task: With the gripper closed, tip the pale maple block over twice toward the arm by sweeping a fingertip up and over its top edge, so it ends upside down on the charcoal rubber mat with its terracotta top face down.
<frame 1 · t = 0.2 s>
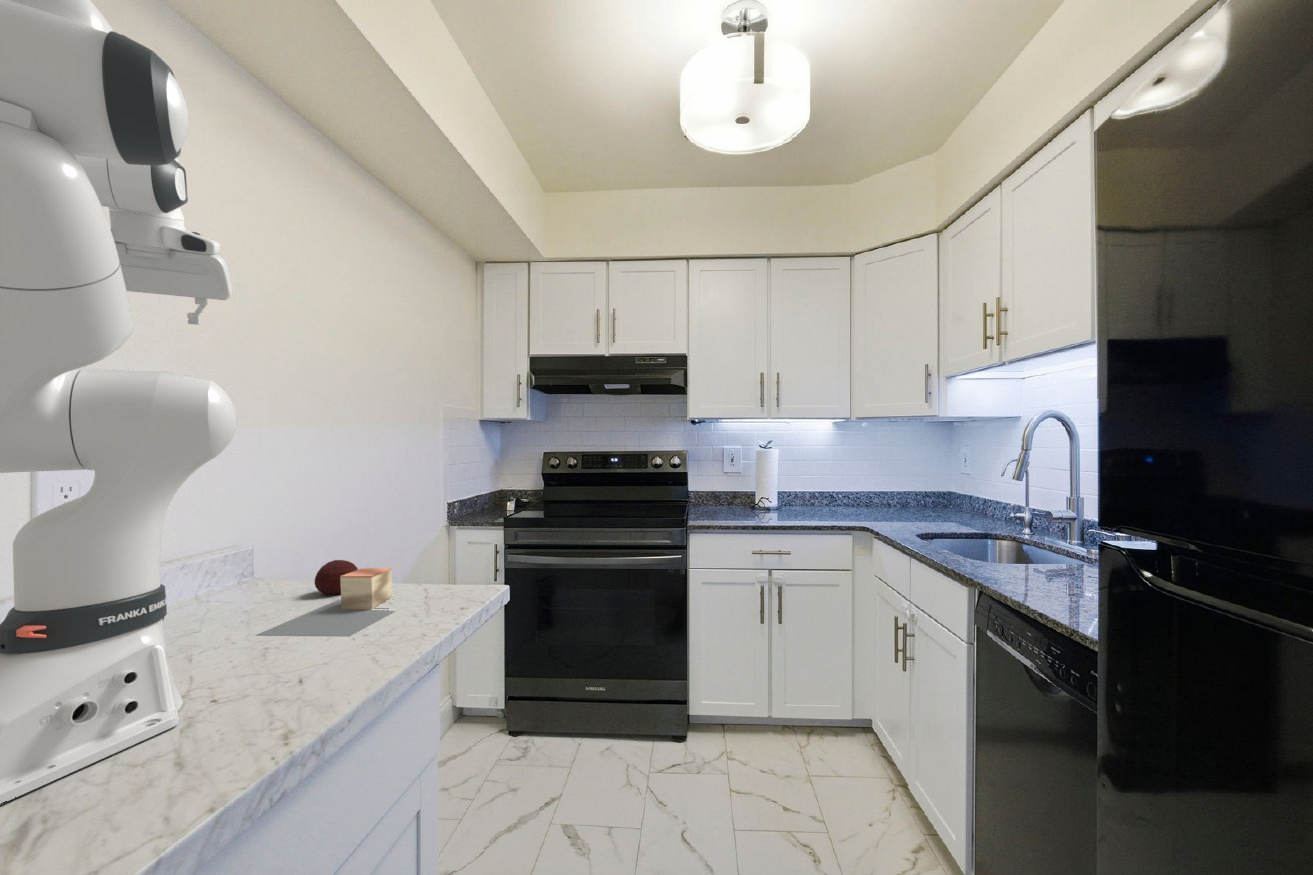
hand: (157, 321, 91), 52 cm above the worktop, tool tilted 20°, fingers open, 8 cm apart
mat: (343, 618, 94), on the worktop
block: (367, 604, 101), resting on mat
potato: (337, 595, 110), on the worktop
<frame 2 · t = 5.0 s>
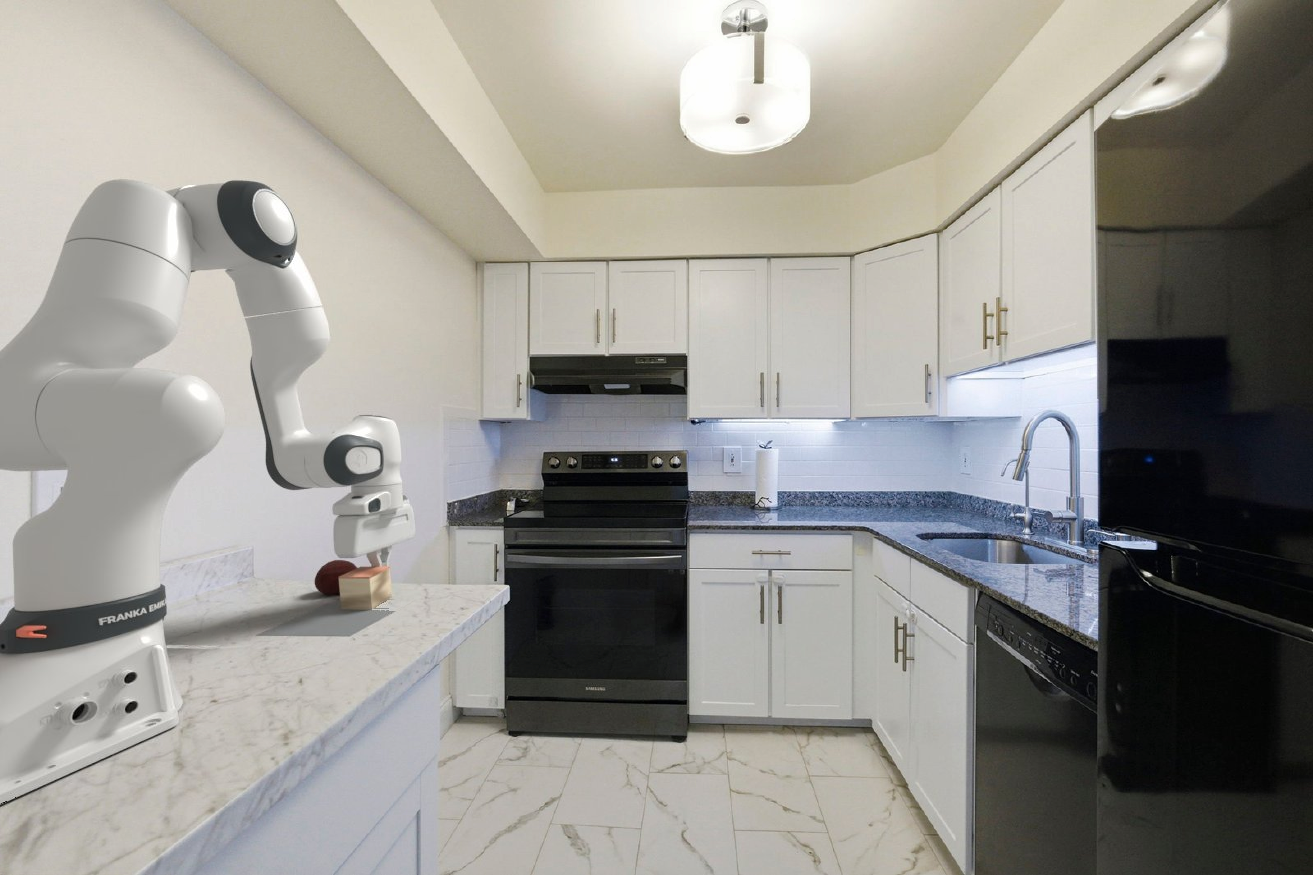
hand: (380, 571, 105), 6 cm above the worktop, tool pointing down, fingers closed
block: (367, 603, 101), point 1 cm above the worktop, touching gripper, mat
everything else where it was.
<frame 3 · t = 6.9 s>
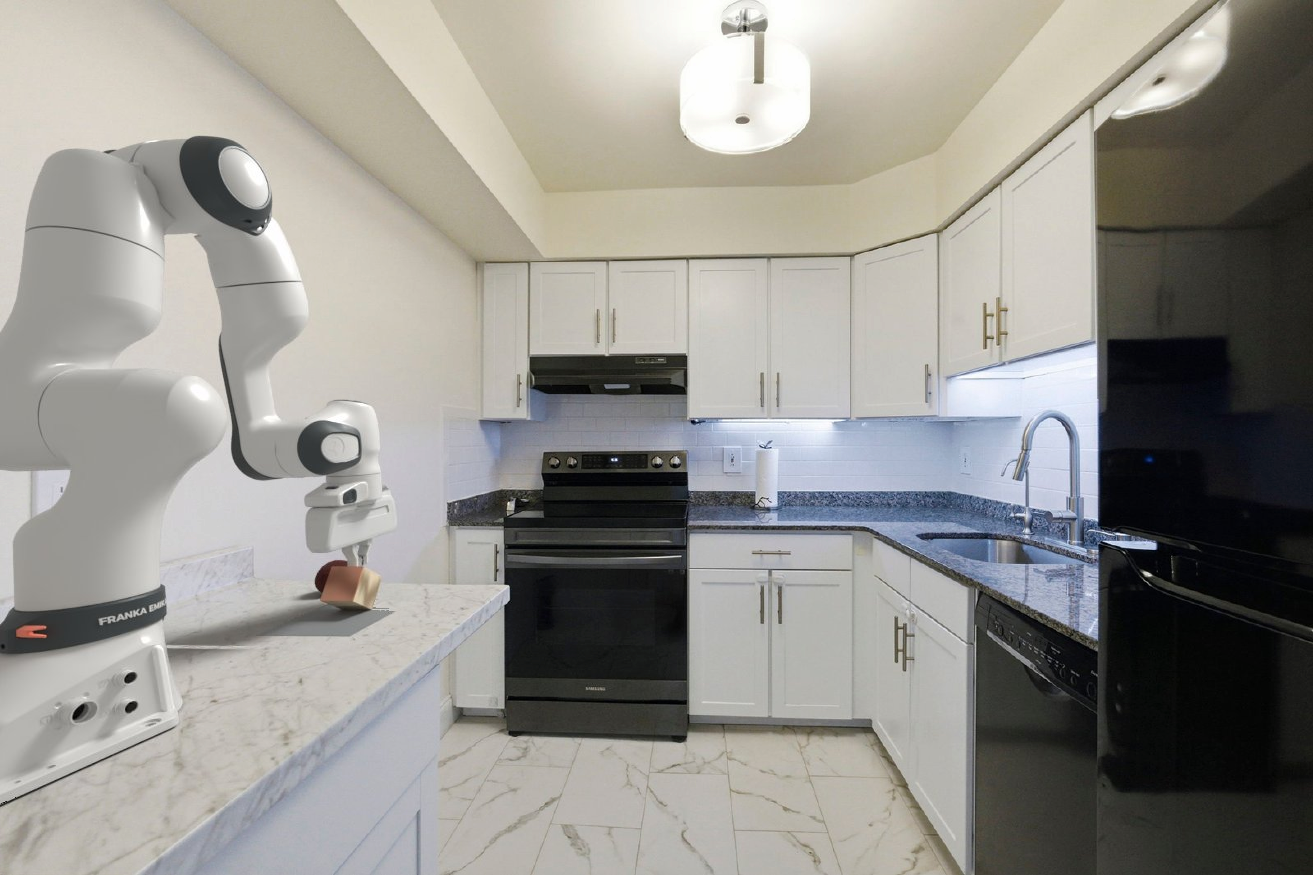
hand: (358, 566, 98), 8 cm above the worktop, tool pointing down, fingers closed
block: (361, 592, 99), point 3 cm above the worktop, tilted 59°, touching gripper, mat
everything else where it was.
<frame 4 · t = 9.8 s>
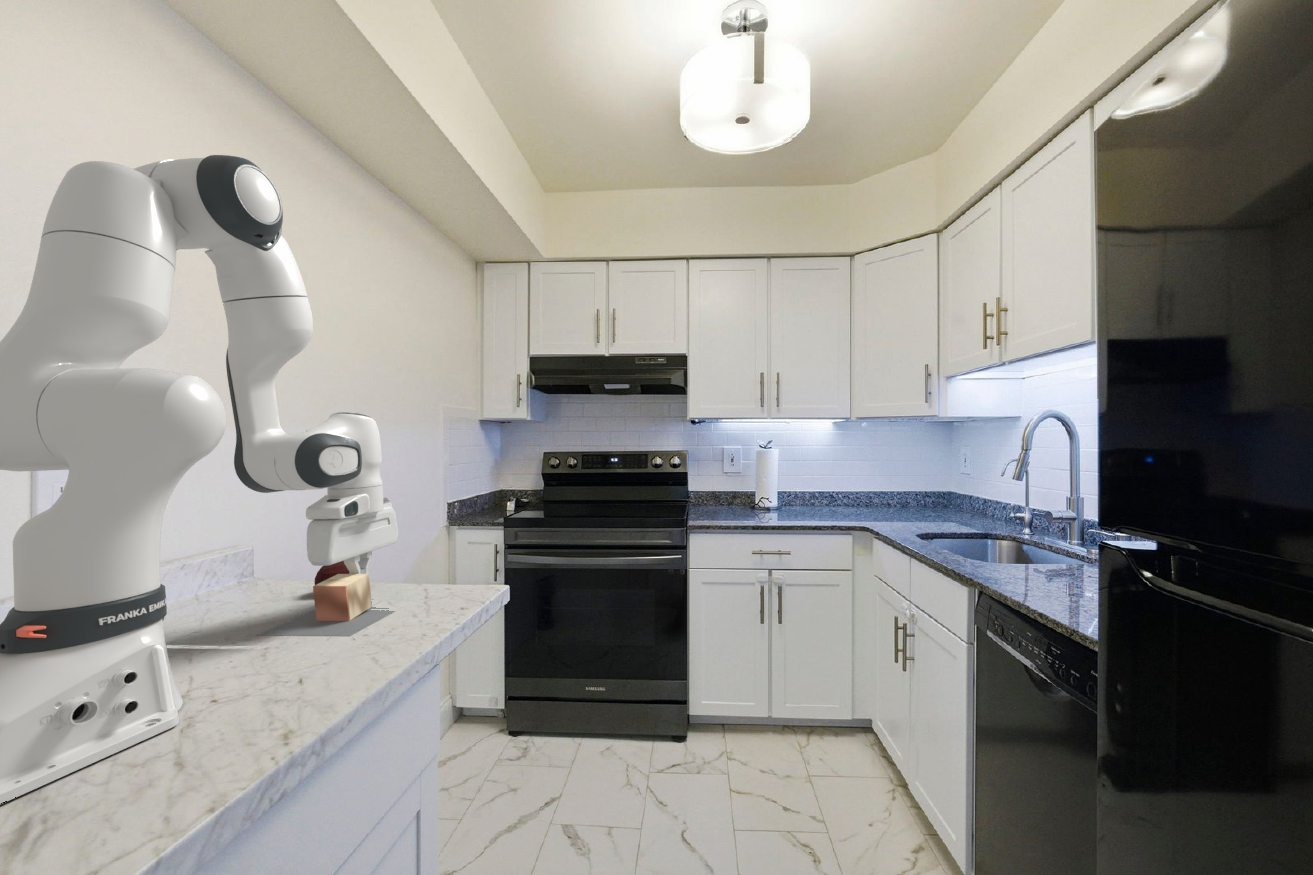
hand: (359, 579, 98), 6 cm above the worktop, tool pointing down, fingers closed
block: (354, 590, 97), point 4 cm above the worktop, tilted 96°, touching gripper, mat
everything else where it was.
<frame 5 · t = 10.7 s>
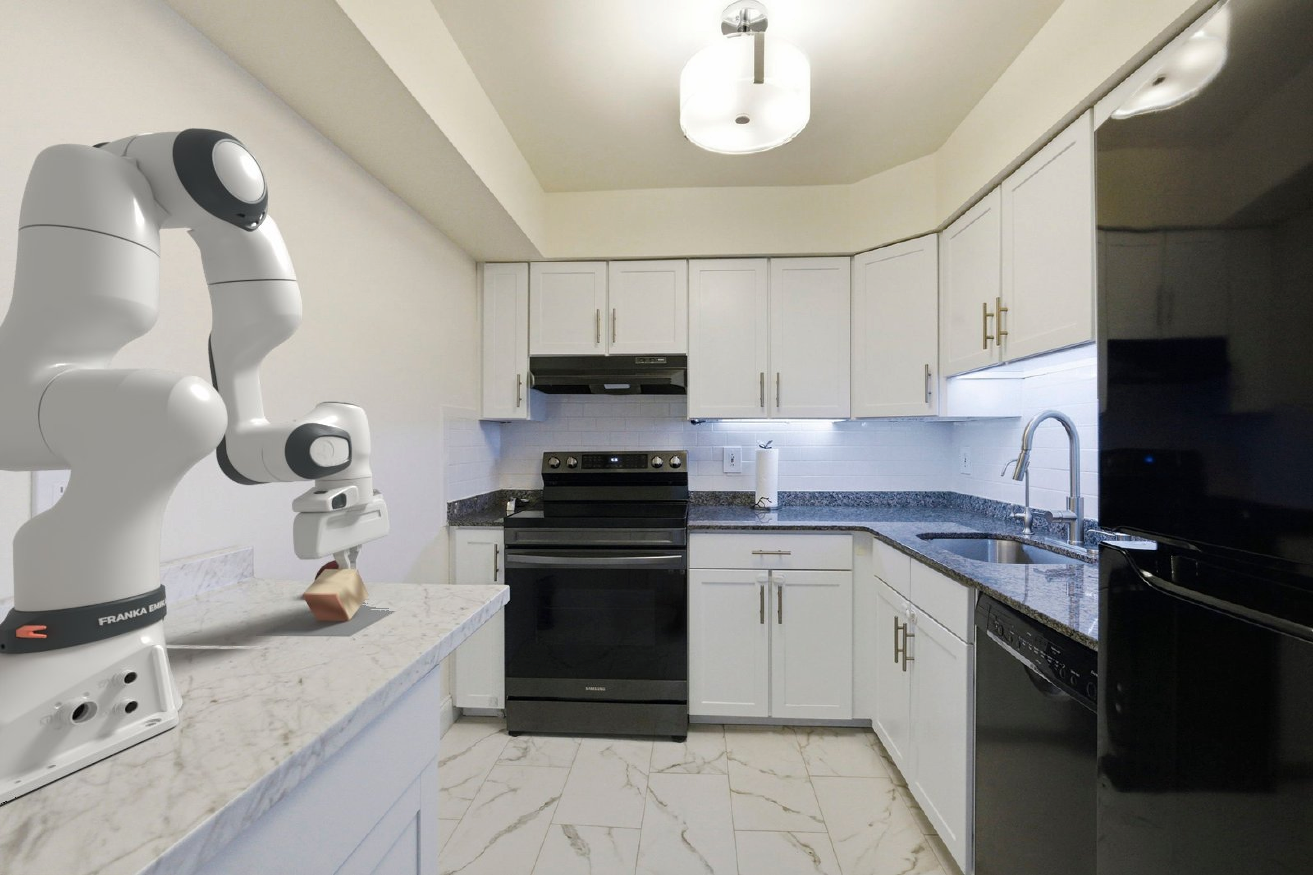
hand: (348, 572, 96), 8 cm above the worktop, tool pointing down, fingers closed
block: (347, 582, 95), point 6 cm above the worktop, tilted 119°, touching gripper, mat
everything else where it was.
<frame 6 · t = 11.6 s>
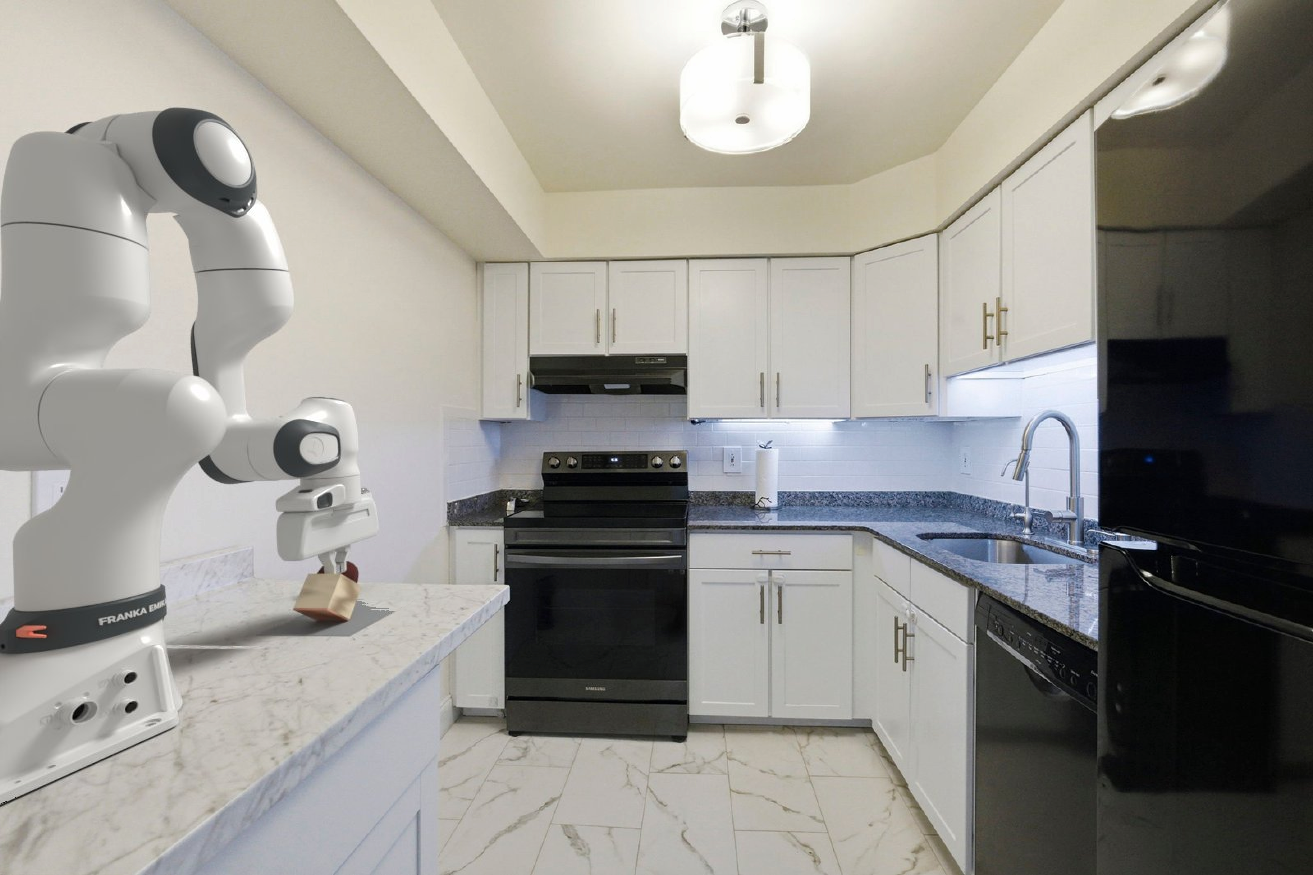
hand: (335, 574, 93), 8 cm above the worktop, tool pointing down, fingers closed
block: (335, 580, 93), point 7 cm above the worktop, tilted 146°, touching gripper, mat
everything else where it was.
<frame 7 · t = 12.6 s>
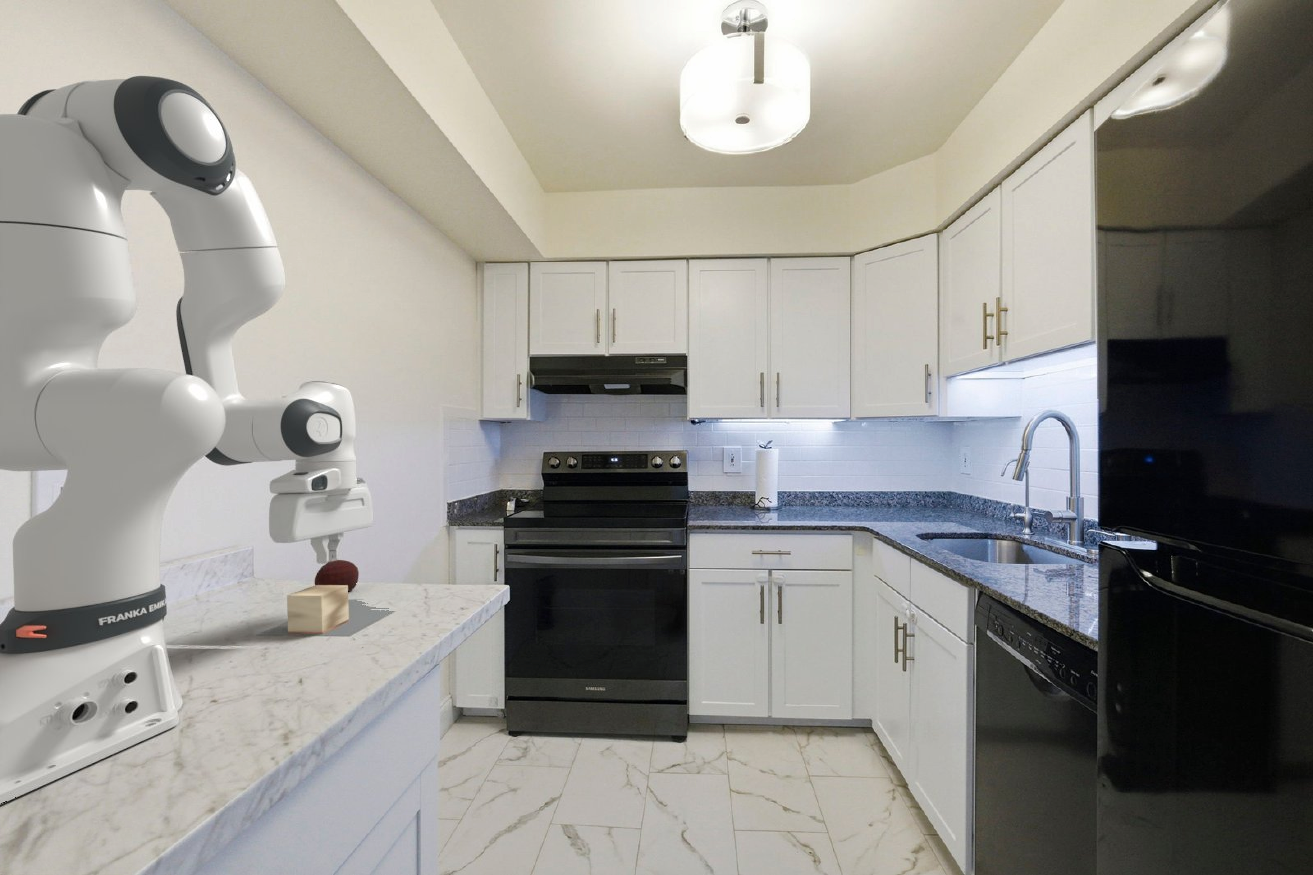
hand: (327, 562, 91), 11 cm above the worktop, tool pointing down, fingers closed
block: (318, 590, 89), point 6 cm above the worktop, tilted 180°, touching mat
everything else where it was.
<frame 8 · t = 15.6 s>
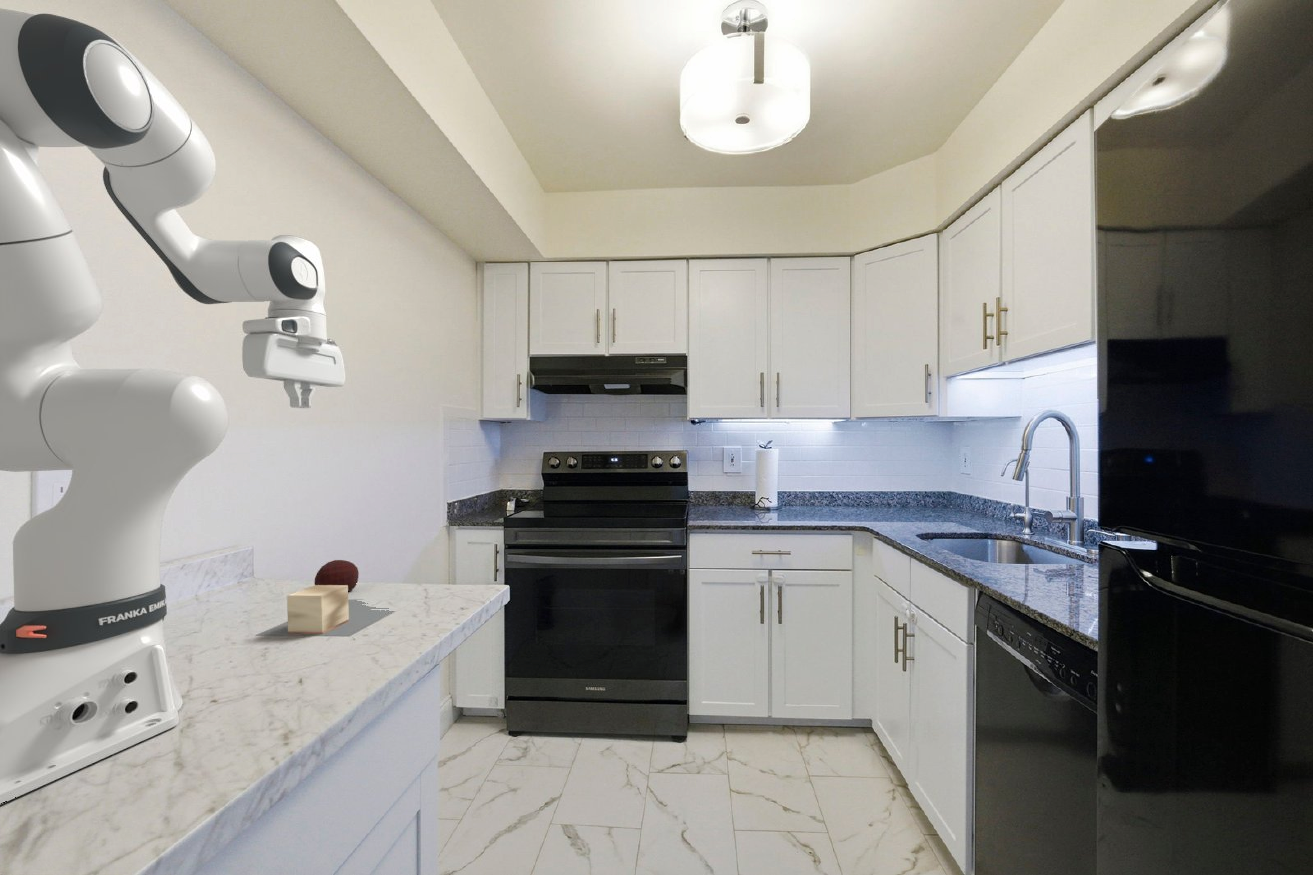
hand: (300, 407, 98), 37 cm above the worktop, tool pointing down, fingers closed
nothing on the worktop moved.
at the end: block tilted 180°; block inside the target area (0.1 cm from its centre), point 6.5 cm above the worktop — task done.
